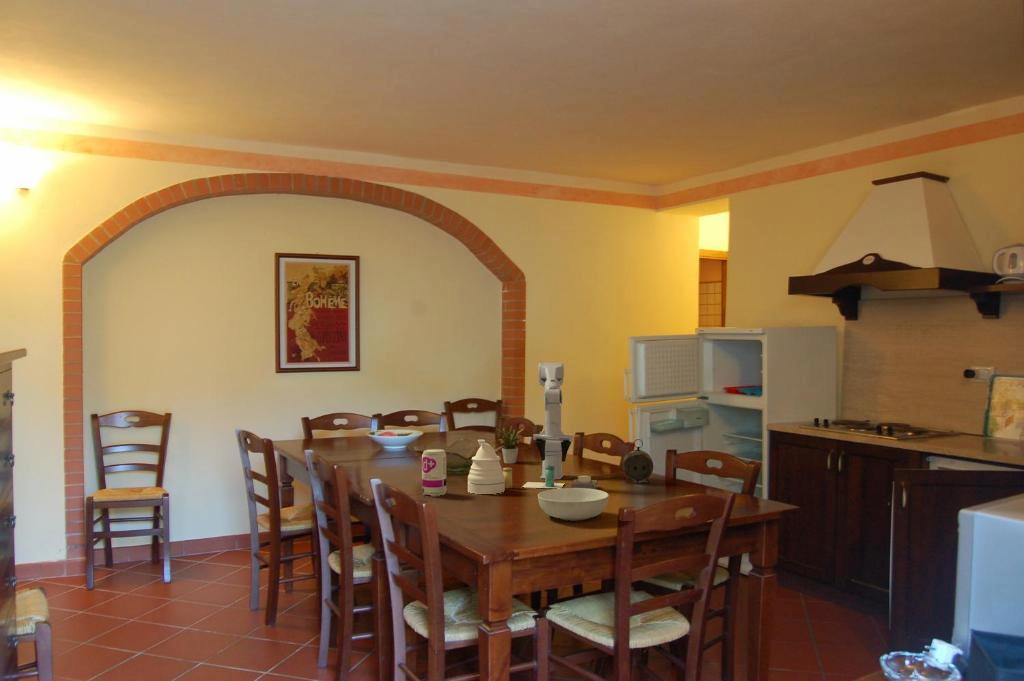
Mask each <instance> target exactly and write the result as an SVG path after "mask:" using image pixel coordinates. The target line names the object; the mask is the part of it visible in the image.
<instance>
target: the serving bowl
mask: <svg viewBox="0 0 1024 681" xmlns="http://www.w3.org/2000/svg"><path fill="white" fill-rule="evenodd" d="M609 498H610V496H609V493H608V492H606V491H604V490H600V489H596V490H595V489H587V488H572V487H562V488H561V489H546V490H544V491H541V492H539V493H538V494H537V499H538V503H539V504H538V505H539V506H540V508H541V509H542V511H543V512H544V513H546V515H549V516H551V517H553V518H556V519H559V518H560V519H559V520H562V519H563V521H568V520H570V521H571V522H572V521H573V522H575V521H576V522H577V521H578V520H579V521H585V520H588V519H590V518H594V517H596V516H598V515H600V514H601V513H603V512H604V511H605V510H606V508H607V507H608V503H609ZM570 521H569V522H570Z"/></svg>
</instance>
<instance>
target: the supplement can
mask: <svg viewBox="0 0 1024 681" xmlns="http://www.w3.org/2000/svg"><path fill="white" fill-rule="evenodd" d="M421 492H422V493H421V494H422V495H424V494H430V495H431V496H430V497H441V496H440V495H442V496H445V494H446V493H447V453H446V452H445V450H444V449H443V448H442V449H440V448H430V449H424V450H423V453H422V455H421Z"/></svg>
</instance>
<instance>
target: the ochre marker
mask: <svg viewBox="0 0 1024 681" xmlns="http://www.w3.org/2000/svg"><path fill="white" fill-rule="evenodd" d="M502 471H503V474H504V480H505V481H504V482H505V488H511V489H513V467H503V468H502Z"/></svg>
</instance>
